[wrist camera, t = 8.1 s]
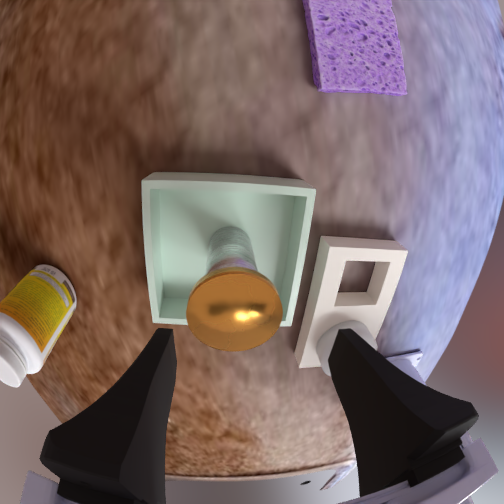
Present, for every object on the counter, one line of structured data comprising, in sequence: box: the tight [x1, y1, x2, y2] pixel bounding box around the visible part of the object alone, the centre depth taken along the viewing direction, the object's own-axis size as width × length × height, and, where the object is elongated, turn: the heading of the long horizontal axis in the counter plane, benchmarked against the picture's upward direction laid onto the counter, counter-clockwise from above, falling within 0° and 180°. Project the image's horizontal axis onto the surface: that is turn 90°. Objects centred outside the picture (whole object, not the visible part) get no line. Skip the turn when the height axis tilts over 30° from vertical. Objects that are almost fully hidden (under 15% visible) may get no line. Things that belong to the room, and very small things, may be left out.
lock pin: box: [186, 226, 283, 351], centre depth 16 cm, size 4×4×8 cm
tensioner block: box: [295, 236, 408, 376], centre depth 21 cm, size 12×7×5 cm, turn 175°
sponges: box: [302, 0, 407, 96], centre depth 13 cm, size 7×13×2 cm, turn 6°
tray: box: [142, 172, 316, 326], centre depth 18 cm, size 10×10×3 cm
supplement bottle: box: [0, 265, 76, 387], centre depth 15 cm, size 6×6×10 cm
